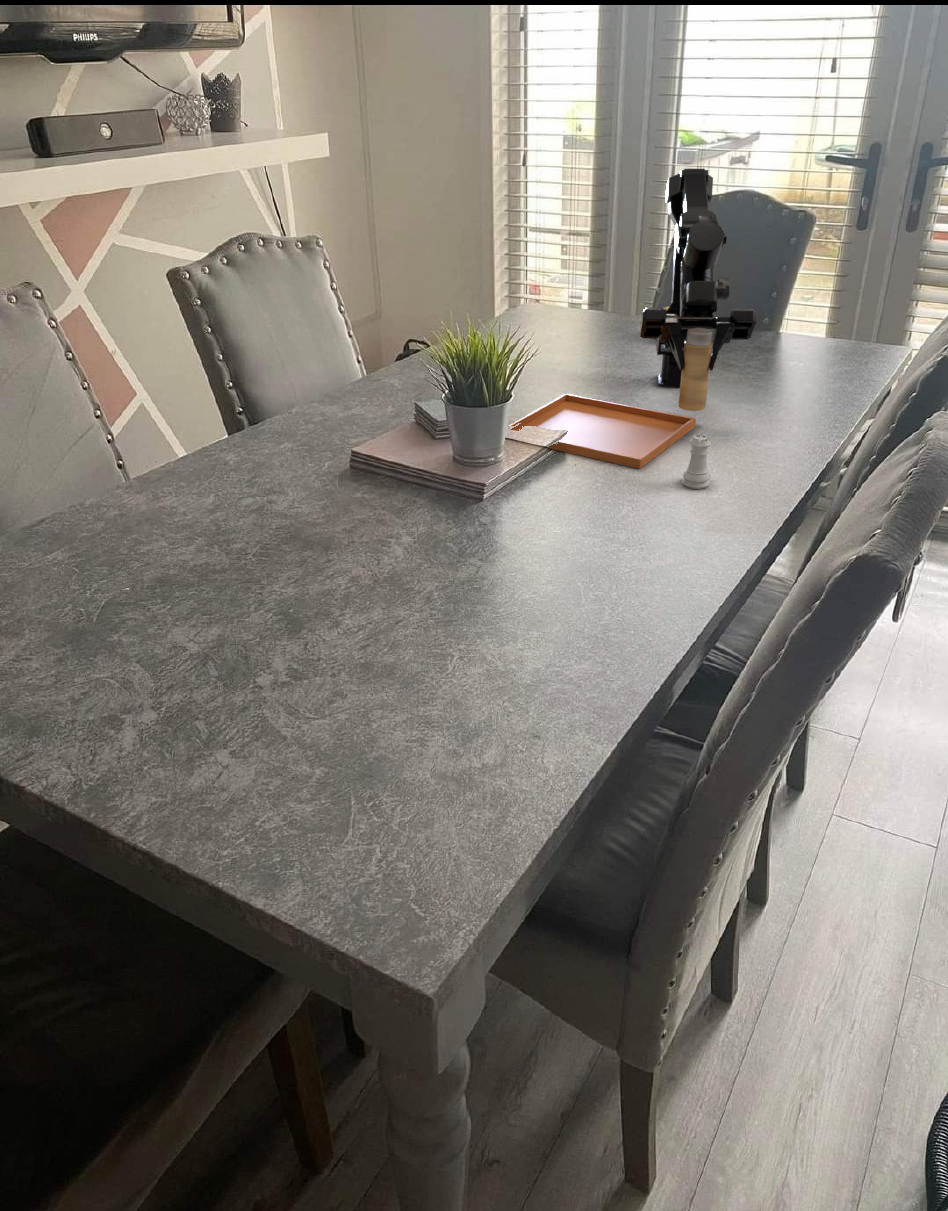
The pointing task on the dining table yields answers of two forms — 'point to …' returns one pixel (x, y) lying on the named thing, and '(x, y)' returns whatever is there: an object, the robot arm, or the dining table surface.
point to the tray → (608, 429)
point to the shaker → (695, 369)
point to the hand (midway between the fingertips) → (696, 369)
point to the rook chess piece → (697, 464)
